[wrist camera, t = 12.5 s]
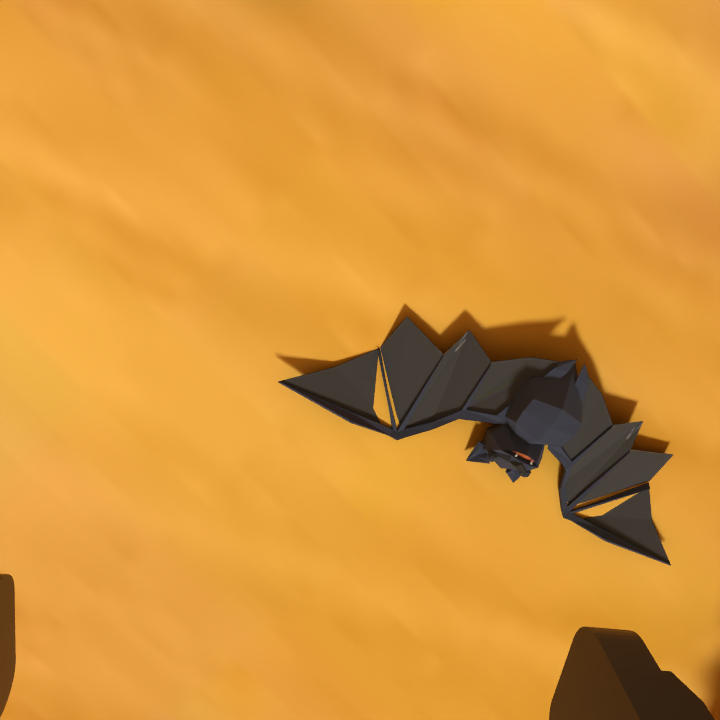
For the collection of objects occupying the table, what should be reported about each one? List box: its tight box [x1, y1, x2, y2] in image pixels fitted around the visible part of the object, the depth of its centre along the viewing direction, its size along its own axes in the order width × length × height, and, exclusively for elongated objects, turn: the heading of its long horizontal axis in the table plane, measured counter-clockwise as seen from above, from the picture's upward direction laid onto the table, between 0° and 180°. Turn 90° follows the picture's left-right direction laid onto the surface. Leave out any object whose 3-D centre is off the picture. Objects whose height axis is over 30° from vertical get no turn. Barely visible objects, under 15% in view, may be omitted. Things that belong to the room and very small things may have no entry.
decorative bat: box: [279, 317, 673, 566], centre depth 41 cm, size 30×4×10 cm
